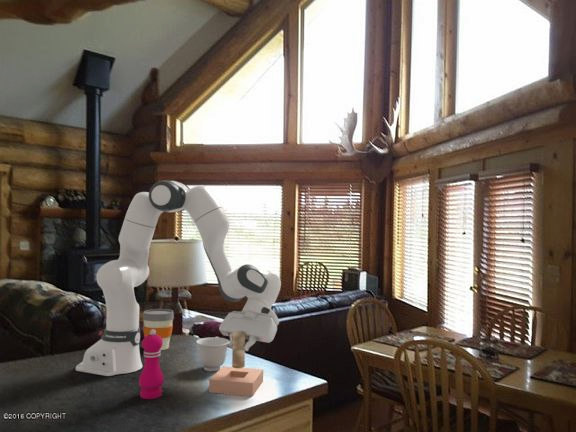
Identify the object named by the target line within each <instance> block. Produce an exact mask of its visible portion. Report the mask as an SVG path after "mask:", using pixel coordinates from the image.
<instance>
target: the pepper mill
mask: <svg viewBox="0 0 576 432" xmlns="http://www.w3.org/2000/svg"><path fill="white" fill-rule="evenodd" d="M162 345H163V341H162V338H161V337H160V336H159V335H156V331H155V330H154V329H152V330H151V331H150V335H147V336H146V337H143V340H142V343H141V347H142V349H144V350H143V357H144V365H143V366H144V367H142V368H143V369H142V371H141V373H140V375H139V380H138V385H139V387H140V388H141V389H140V392H139V396H140V398H141V399H144V400H153V399H158V398H161V396H162V395H163V392H162V388H161V387H162V385H164V375H163V371H162V369H161V366H160V356H161V355H162V354H161V352H162V350H160V348H161V347H162Z"/></svg>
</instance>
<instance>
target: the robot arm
mask: <svg viewBox="0 0 576 432" xmlns="http://www.w3.org/2000/svg"><path fill="white" fill-rule="evenodd" d="M183 211H186V212H187V213H188V215H190V217H191V219H192V220H193V223H194V225H195V226H196V228H197V230H198V232H199V235H200V237H201V241H202V246H203V249H204V252H205V254H206V256H207V258H208V261H209V263H210V265H211V268H212V270H213V272H214V274H215V277H216V279H217V284H218V286H217V287H218V290H219V294H220V295H221V297H222V298H223V299H224V300H225V301H228V302H230V303H236V302H237V303H238V302H239V301H241V300H242V299H243V298H245V297H246V298H247V301H246V302H245V304H244V306H243V308H242V310H240V311H238V310H233V311H230V312H228V313H227V315H226V316H225V317H224V319H223V320H222V322H220V324H219V326H218V329H219V331H220V333H221V334H222V336H225V337H226V336H227V337H229V341H230V343H229V344H228V346H227V347H229V349H233V332H234V331H244V332H245V340H248V341H246V342H245V343H244V344H243V346H242V349H243V350H244V351H245V352H249V349H250V348H251V347H252V346H253V345H254V344H256V342H263V343H268V344H270V343H271V342H272V341H274V338H275V336H276V334H277V331H278V326H279V324H280V320H279V318H278V316H277V314H276V313H275V311H274V310H273V309H272V306H273V305H274V304H275V302H276V301H277V299H278V296H279V294H280V291H281V286H282V281H281V278H280V276H279V275H277V273H275V272H274V271H271V270H261V269H259V268H257V267H255V266H254V265H253V264H243V265H241V266H239V267H238V268H235V270H234V269H232V266H231V264H230V262H229V260H228V257H227V255H226V252H225V250H224V249H225V248H224V244H225V239H226V236H227V234H228V233H229V228H230V221H229V219H228V215H227V213H226V210H224V208H223V206H222V205H221V203H220V202H219V200H218V199H217V197H216V196H215V194H214V193H213V192H212V191H211V189H209V187H207V186H205V185H195V186H193V187H192V188H190V187H189V186H188V185H186V184H185V183H182V182H179V181H176V180H169V179H168V180H166V179H165V180H159V181H157V182H155V183H154V184H152V186H151V187H150V189H149V192H148V191H141V192H138V193H136V194H135V195H134V196H133V198H132V200H131V202H130V204H129V206H128V209H127V211H126V213H125V216H124V220H123V223H122V226H121V229H120V232H119V235H118V242H119V246H120V247H119V248H120V249H119V257H118V259H113V260H110V261H108V262H106V263H104V264H103V265H102V266H100V268H99V269H98V270H97V272H96V283H97V286H98V287H99V288H100V289H101V290H102V292H103V297H104V301H105V305H106V306H105V307H106V320H105V321H106V322H105V323H106V324H105V325H106V326H105V328H104V329H102V330H100V331H98V332H99V333H98V336H101V338H100V339H99V340H98V341H96V342H95V343H94V344H93V345H91V346H90V347H88V348H87V349H86V351H85V352H84V353H83V359H82V362H79V364H77V365H76V366H75V371H77V372H82V373H87V374H93V375H99V376H104V377H111V376H115V375H116V376H117V375H121V374H124V375H125V374H130V373H133V372H137V371H139V370H141V369H142V368H143V363H142V360H141V353H140V340H141V328H140V304H139V303H138V302H137V299H136V296H135V289H134V288H135V287H139V286H140V285H142V284H143V283H144V282H145V281H147V279H148V278H149V276H150V267H149V265H148V264H149V255H150V248H151V243H152V240H153V237H154V233H155V231H156V228H157V227H156V226H157V224H158V221H159V218H160V216H161V215H162V214H163V213H165V212H167V213H179V212H183Z"/></svg>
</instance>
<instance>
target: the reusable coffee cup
mask: <svg viewBox="0 0 576 432" xmlns="http://www.w3.org/2000/svg"><path fill="white" fill-rule="evenodd" d="M174 314H175V313H174V310H173V309H169V308H168V309H166V308H155V309H154V308H153V309H147V310H144V311H143V314H142V320H143V325H142V327H143V336H144V337H143V338H145V337H146V336H147V335H150V331H151V330H152V329H154V330H155V331H156V335H159V336H160V337H161V338H162V341H163V345H162V347H161V348H160V350H161V351H165V350H168V349H169V348H170V341H171V337H172V333H173V328H174V326H173V325H174V324H173V321H174V319H175V316H174Z"/></svg>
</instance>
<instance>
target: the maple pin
mask: <svg viewBox="0 0 576 432" xmlns="http://www.w3.org/2000/svg"><path fill="white" fill-rule="evenodd" d="M244 343H246V339H245V332H244V331H234V332H233V348H231V349H232V353H231V354H232V355H231V357H232V362H231V367H233V368H246V367H245V366H246V364H245V363H246V361H245V359H246V351H244V350H243V349H242V346H243V344H244Z"/></svg>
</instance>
